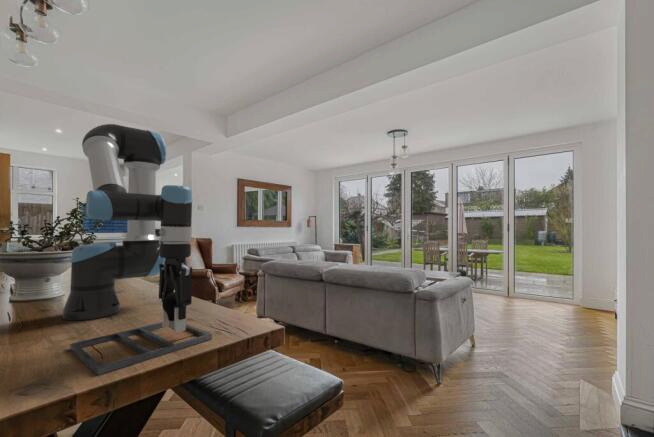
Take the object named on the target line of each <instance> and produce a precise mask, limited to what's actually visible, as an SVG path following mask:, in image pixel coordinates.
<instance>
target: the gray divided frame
mask: <svg viewBox="0 0 654 437" xmlns="http://www.w3.org/2000/svg"><path fill="white" fill-rule="evenodd" d="M162 322H163V321H162ZM162 322H161V321H160V322H157V323H154V324H149V325H145V326H141V327H136V328H132V329H128V330H124V331H119V332H115V333H110V334H106V335H101V336H98V337H94V338H93V337H92V338H90V339H86V340H81V341H78V342H73V343H70V344H69V350H70V351H71V352H72V353H73V354H74V355H75V356H76V357H77V358H79V360H81V362H83V363H84V364H85V365H86V366H87V367H88V368H90V370H91V371H93V373H95V374H96V375H97V376H101V375H103V374H106V373H110V372H112V371H116V370H120V369H122V368H125V367H129V366H131V365H134V364H137V363H141V362H144V361H146V360H147V361H148V360H150V359H153V358H156V357H159V356H162V355H166V354H169V353H172V352H175V351H179V350H181V349H185V348H188V347H190V346H194V345H198V344H202V343H205V342H206V341H210V340H213V334H212V333H211V332H207V331H205V330H203V329H200V328H197V327H196V326H193V325H191V324H188V323H186V330H184V331H181V332H177V333H175V332H174V330H173V329H171V330H168V331H165V332H160V333H158V334H157V333H156V334H155V333H153V332H151V331H154V330H156V329H157V330H158V329H161V328H163V327H162ZM138 334H139V335H141V336H143V337H145V338H146V339H148V340H150V341H152V342H153V343H155V344H158V345H159V346H161V348H157V349H154V350H150V349H149V348H147V347H145V346H144V345H142V344H140V343H139V342H137V341H135V340H134V339H132V338H131V337H129V336H133V335H138ZM194 335H196V336H197V337H194V338H193V337H192V336H194ZM189 337H192V338H190V339H187V340H184V341H181V342H178V343H177V342H176V343H173V342H175V341H179V340H181V339H184V338H189ZM113 340H118V341H120V342H121V343H122V344H125V346H128V347H129V348H131V349H132V350H134V351H136V352H137V353H138V355H134V356H132V357H127V358H124V359H121V360H118V361H117V360H116V361H114V362H110V363H108V364H105V365H104V364H103V365H102V364H100V362H99V361H97V360H96V359H95V358H94V357H92V356H91V355H90V354H89V353H88V352H87V351H85V349H83V348H86V347H89V346H94V345H96V344H97V345H98V344H101V343H105V342H106V343H107V342H110V341H113Z"/></svg>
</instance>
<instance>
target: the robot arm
mask: <svg viewBox="0 0 654 437" xmlns="http://www.w3.org/2000/svg"><path fill="white" fill-rule="evenodd" d="M81 143H82V144H81V147H82V152H83V154H84V156H85V157H86V158H88V166H89V170H90V177H91V182H92V189H93V190H89V191H87V193H86V200H85V214H86V217H87V218H89V219H91V220H102V221H127V236H126V237H124V238H123V239H122V245H117V242H115V241H106V242H104V241H103V242H95V243H89V244H83V245H78V246H76V247H74V248H73V249H72V251H71V257H70V259H71V260H70V261H69V262H70V263H71V266H70V267H71V268H70V269H71V270H70V290H69V295H68V297H67V300H66V302H65V304H64V307H63V308H62V316H61V318H62V319H63V320H66V321H85V320H93V319H99V318H104V317H108V316H111V315H115V314H117V313H119V312H120V311H121V302H120V299H119V297H118V294H117V292H116V289H115V287H116V286H115V285H116V284H115V283H116V281H117V280H125V279H126V280H127V279H136V278H148V277H154V276H157V275H159V282H158V299H159V300H160V299H161V302H162V303H163V300H164V298H165V297H166V296H167V295H168V294H170V293H173V292H175V296H176V304H177V306H174V308H175V313H174V332H175V333H177V332H181V331H184V330H185V331H187V330H186V324H187V307H188V306H190V305H192V292H193V291H192V274H193V270H194V269H193V267H192V266H187V260H186V258H189V257H191V255H192V253H191V252H192V244H191V243H190V242H191V241H192V212H193V191H192V188H190V187H189V186H183V185H176V184H175V185H174V184H173V185H172V184H170V185H169V184H168V185H163V186H162V188H161V191H160V192H161V194H156V184H157V183H156V174H157V171H158V170H160V169H161V165H164V164H165V162H166V156H167V146H166V142H165V140H164V138H163V136H162V135H161V134H160V133H158V132H154V131H152V130H148V129H146V130H145V129H140V128H136V127H129V126H126V125H125V126H124V125H120V124H117V123H116V124H115V123H108V124H101V125H97V126H95V127H93V128H92V129H90V130H89V131H88V132H87V133H86V134H85V135H84V137H83V140H82V142H81ZM119 159H120V160H123V166H124V168H126V169H128V170H127V171H128V186H127V187H128V188H127V187H126V183H125V180H124V175H123V173H122V169H121V165H120V161H119ZM127 189H128V190H127ZM156 222H160V230H159V231H158V233H159V235H160V238H158V236H157V234H156ZM161 242H162V243H161ZM167 327H169V320H168V316H167V313H166V312H165V311H164V309H163V308H162V328H167Z"/></svg>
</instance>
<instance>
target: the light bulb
mask: <svg viewBox="0 0 654 437" xmlns="http://www.w3.org/2000/svg"><path fill="white" fill-rule="evenodd" d="M161 304H162V310H163V309H164V311H165V312H166V313H167V316H168V320H169V326H168V327H169V329H171V330H174V313H175V308H174V306H177V304H176V296H175V291H174V292H173V293H170V294H168V295H167V296H166V297H165V298H164V300H163V302H162V303H161Z"/></svg>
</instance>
